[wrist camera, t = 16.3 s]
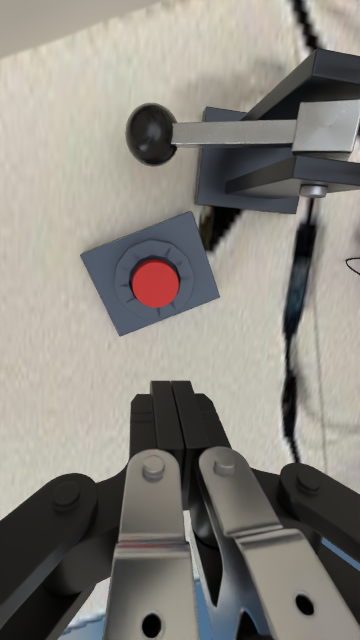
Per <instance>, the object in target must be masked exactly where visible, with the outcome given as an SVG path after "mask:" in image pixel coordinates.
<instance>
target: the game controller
mask: <svg viewBox="0 0 360 640" xmlns="http://www.w3.org/2000/svg"><path fill="white" fill-rule="evenodd" d="M352 259H360V258H350V259H347V260H346V264H347V261H348V260H352ZM347 266H348V267H349V268H350V269H351V270H353V271H354V272H356V273H357V274H359V275H360V273H358V272H357V271H355V270H354V269H352V268H351V267H350V266H349V265H348V264H347Z"/></svg>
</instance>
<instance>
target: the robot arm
mask: <svg viewBox="0 0 360 640" xmlns="http://www.w3.org/2000/svg"><path fill="white" fill-rule="evenodd" d="M185 510H189V511H190V517H191V527H190V540H191V544H192V548H193V552H194V557H195V561H196V565H197V569H198V573H199V577H200V581H201V585H202V589H203V593H204V597H205V602H206V606H207V610H208V613H209V619H210V627H211V640H360V571H358V570H357V569H356V568H354V567H353V566H352V565H350V564H349V563H348V562H346V561H345V560H343V559H342V558H341V557H339V556H338V555H337V554H335V553H334V552H333V551H331V550H330V549H329V548H327V547H326V546H325V545H323V544H322V540H323V537H324V538H325V539H327V540H328V541H330V542H331V543H332V544H334V545H335V546H336V547H338V548H339V549H340V550H342V551H343V552H345V553H346V554H347V555H349V556H350V557H352V558H353V559H354V560H356V561H357V562H359V563H360V494H358V493H356V492H355V491H353V490H351V489H350V488H348V487H346V486H344V485H343V484H341V483H339V482H338V481H336V480H334V479H333V478H331V477H329V476H328V475H326V474H324V473H322V472H321V471H319V470H317V469H315V468H314V467H311V466H309V465H306V464H302V463H290V464H287V465H286V466H284V467H283V468H282V470H281V473H280V475H277V474H273V473H268V472H264V471H259V470H256V469H253V468H251V467H250V466H249V464H248V463H247V461H246V460H245V458H244V457H243V456H242V455H241V454H239V453H238V452H236V451H235V450H233V449H232V448H231V445H230V443H229V441H228V438H227V436H226V433H225V431H224V429H223V426H222V424H221V421H220V420H219V417H218V414H217V413H216V409H215V407H214V405H213V402H212V401H211V400H210V399H209V398H208V397H207V396H206V395H205V394H194V391H193V388H192V385H191V382H190V381H171V382H170V381H151V383H150V394H137V395H136V396H135V398H134V399H133V400H132V402H131V416H130V449H129V461H128V463H127V465H126V466H125V468H124V469H123V470H122V471H121V472H120V473H118V474H117V475H115V476H113V477H112V478H109V479H107V480H104V481H101V482H98V483H95V482H94V481H93V480H92V479H91V478H90V477H88V476H86V475H83V474H79V473H70V474H65V475H61V476H59V477H56V478H54V479H53V480H51V481H50V482H48V483H47V484H46V485H44V486H43V487H42V488H41V489H39V490H38V491H37V492H36V493H34V494H33V495H32V496H31V497H29V498H28V499H27V500H26V501H24V502H23V503H22V504H21V505H19V506H18V507H17V508H16V509H14V510H13V511H12V512H11V513H9V514H8V515H7V516H6V517H4V518H3V519H2V520H1V521H0V640H57V639H58V638H59V637H60V635H61V634H62V633H63V631H64V630H65V628H66V627H67V626H68V624H69V623H70V622H71V620H72V619H73V618H74V616H75V615H76V614H77V612H78V611H79V609H80V608H81V607H82V605H83V604H84V603H85V601H86V600H87V599H88V597H89V596H90V595H91V593H92V591H93V590H94V588H95V586H96V584H97V583H99V582H101V581H103V580H105V579H107V578H109V577H111V578H110V586H109V593H108V600H107V608H106V615H105V623H104V631H103V639H102V640H200V639H199V628H198V617H197V607H196V597H195V587H194V576H193V566H192V556H191V549H190V544H189V542H188V541H186V538H185V528H184V516H183V511H185Z"/></svg>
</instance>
